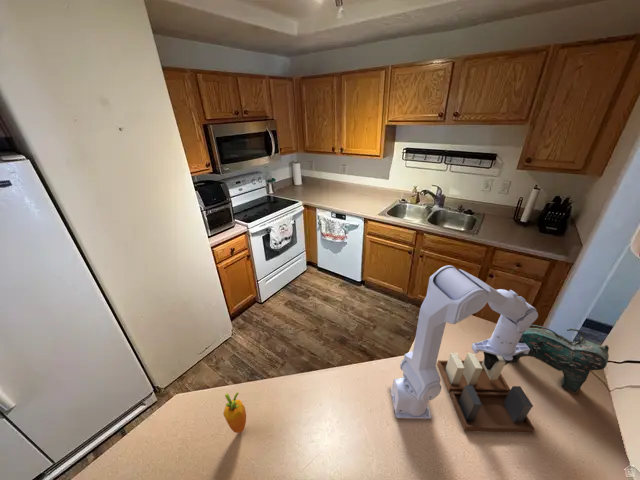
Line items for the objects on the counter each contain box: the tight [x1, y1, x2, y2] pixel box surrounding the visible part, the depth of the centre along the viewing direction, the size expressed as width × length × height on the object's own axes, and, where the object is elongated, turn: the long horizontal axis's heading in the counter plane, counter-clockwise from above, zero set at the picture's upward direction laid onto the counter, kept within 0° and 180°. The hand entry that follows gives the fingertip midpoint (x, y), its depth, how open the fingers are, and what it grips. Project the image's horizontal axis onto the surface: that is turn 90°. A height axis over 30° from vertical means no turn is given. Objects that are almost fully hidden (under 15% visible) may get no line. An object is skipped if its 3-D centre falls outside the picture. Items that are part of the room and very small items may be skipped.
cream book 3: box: [482, 355, 506, 380], centre depth 76 cm, size 2×5×8 cm, turn 178°
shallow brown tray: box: [436, 359, 511, 393], centre depth 79 cm, size 17×9×2 cm, turn 88°
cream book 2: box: [463, 352, 483, 385], centre depth 77 cm, size 2×5×8 cm, turn 178°
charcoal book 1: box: [458, 385, 482, 422], centre depth 69 cm, size 2×5×8 cm, turn 178°
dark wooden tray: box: [449, 392, 536, 434], centre depth 70 cm, size 17×9×2 cm, turn 88°
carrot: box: [223, 392, 247, 434], centre depth 65 cm, size 5×5×15 cm
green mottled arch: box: [511, 324, 610, 394], centre depth 75 cm, size 20×6×20 cm, turn 49°
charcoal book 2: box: [503, 385, 534, 423], centre depth 68 cm, size 2×5×8 cm, turn 178°
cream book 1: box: [445, 352, 465, 385], centre depth 78 cm, size 2×5×8 cm, turn 178°
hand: (491, 366), depth 77 cm, fingers closed on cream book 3, 2 cm apart
